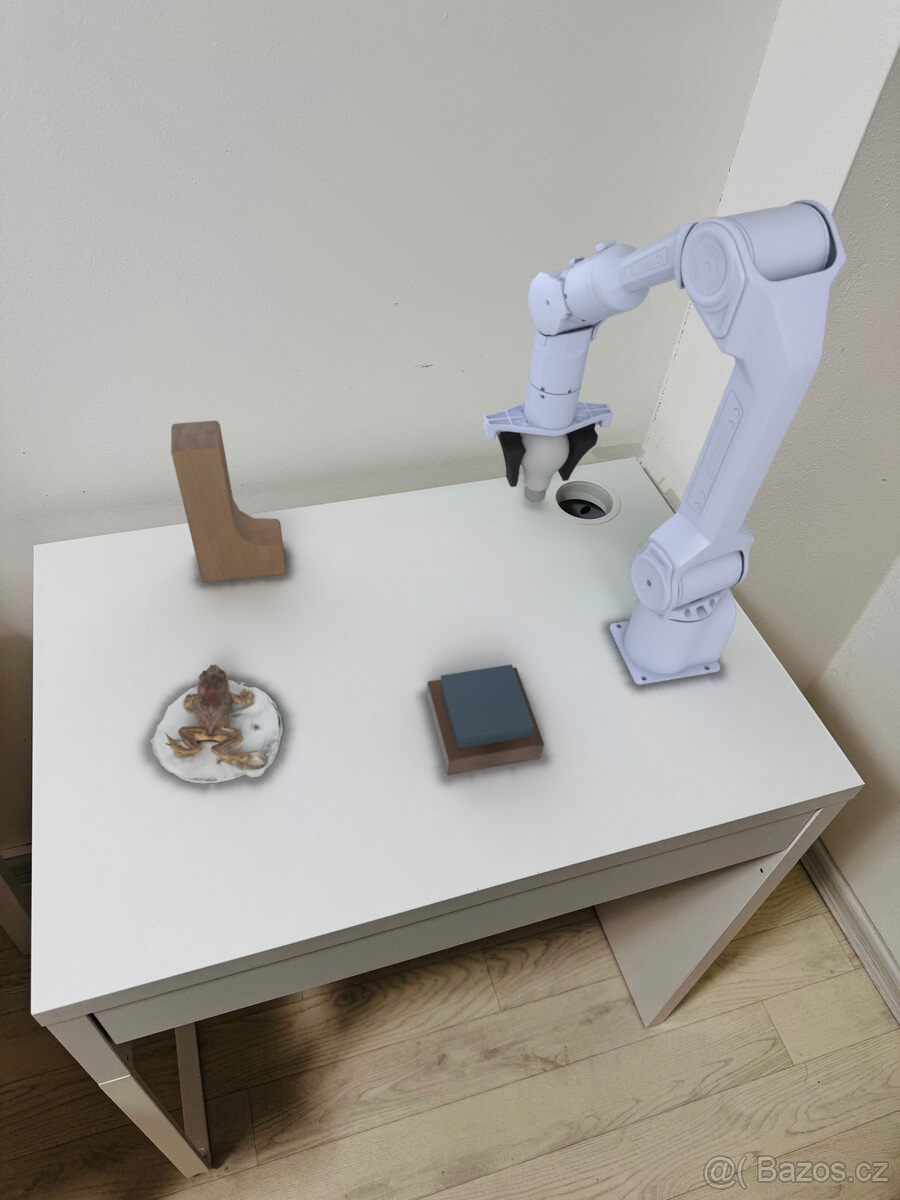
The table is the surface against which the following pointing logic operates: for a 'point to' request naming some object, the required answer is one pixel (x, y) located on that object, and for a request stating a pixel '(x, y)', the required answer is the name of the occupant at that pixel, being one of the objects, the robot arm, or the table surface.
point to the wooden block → (220, 510)
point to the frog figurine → (218, 731)
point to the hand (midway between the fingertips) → (537, 478)
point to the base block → (481, 754)
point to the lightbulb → (542, 462)
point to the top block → (485, 706)
